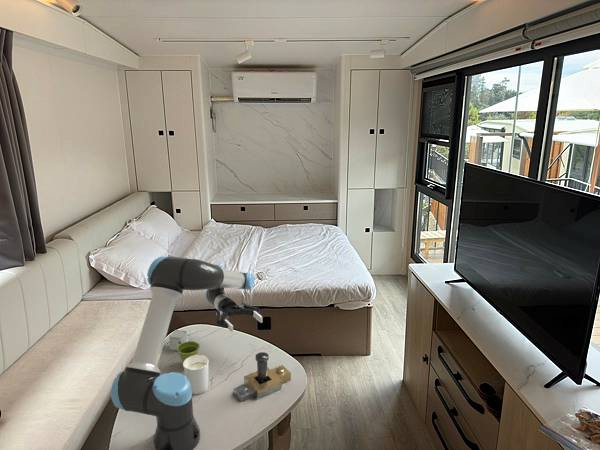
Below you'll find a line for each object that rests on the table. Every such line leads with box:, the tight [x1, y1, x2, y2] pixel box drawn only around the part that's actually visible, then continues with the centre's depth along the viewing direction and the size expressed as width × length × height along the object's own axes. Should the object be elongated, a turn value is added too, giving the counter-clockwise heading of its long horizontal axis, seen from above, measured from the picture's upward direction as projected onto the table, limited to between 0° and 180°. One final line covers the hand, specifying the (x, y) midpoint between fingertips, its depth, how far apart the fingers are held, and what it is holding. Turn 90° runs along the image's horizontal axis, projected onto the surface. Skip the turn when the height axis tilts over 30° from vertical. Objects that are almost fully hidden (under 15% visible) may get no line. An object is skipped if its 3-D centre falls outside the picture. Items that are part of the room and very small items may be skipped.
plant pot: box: [176, 340, 200, 366], centre depth 182 cm, size 9×9×9 cm
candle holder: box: [182, 354, 209, 396], centre depth 166 cm, size 10×10×12 cm
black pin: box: [255, 351, 270, 384], centre depth 167 cm, size 5×5×14 cm
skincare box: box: [169, 329, 189, 351], centre depth 195 cm, size 6×6×7 cm
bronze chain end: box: [243, 364, 292, 395], centre depth 170 cm, size 17×11×4 cm, turn 125°
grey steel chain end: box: [232, 380, 282, 403], centre depth 167 cm, size 17×11×3 cm, turn 125°
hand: (247, 324), depth 173 cm, fingers open, 13 cm apart
